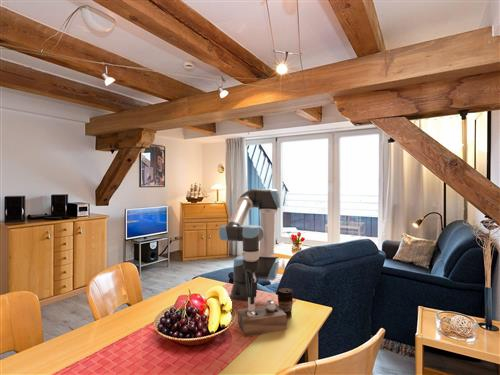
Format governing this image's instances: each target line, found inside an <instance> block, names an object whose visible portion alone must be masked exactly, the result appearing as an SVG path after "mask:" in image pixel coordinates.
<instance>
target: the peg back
mask: <svg viewBox="0 0 500 375" xmlns="http://www.w3.org/2000/svg"><path fill="white" fill-rule="evenodd" d="M276 304H277V303H276V301H275V300H272V299H271V300H270V299H269V300H267V302H266V305H267V312H268V313H275V312H276Z"/></svg>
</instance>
